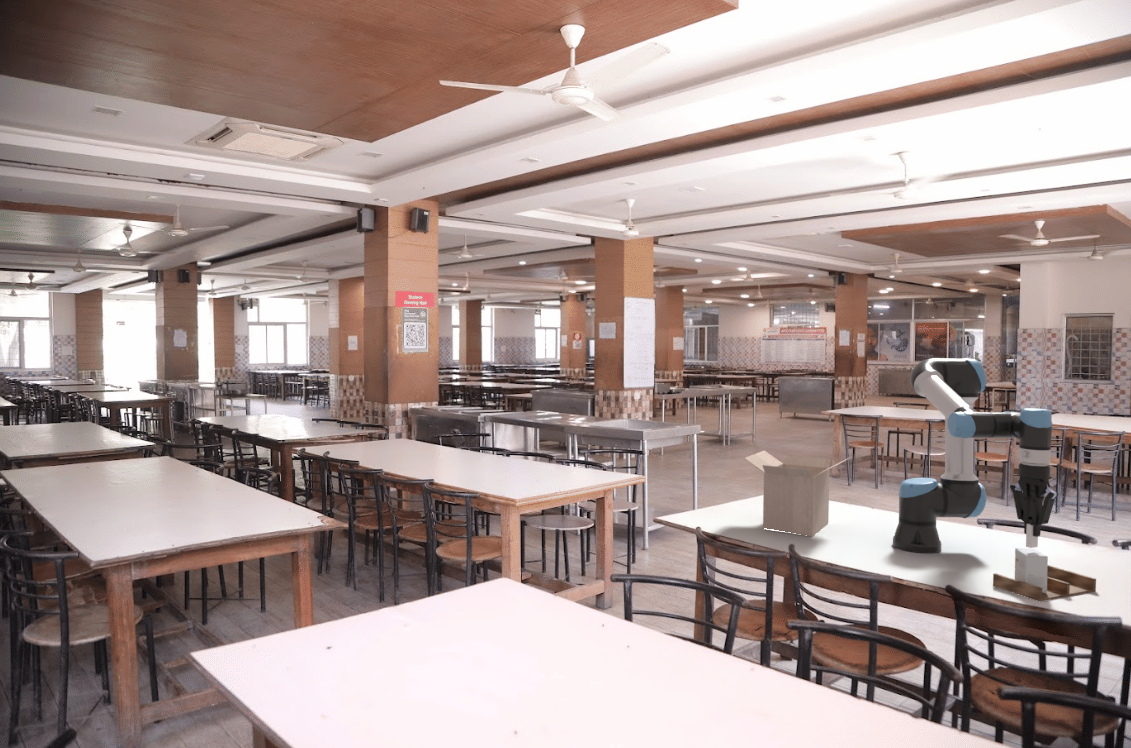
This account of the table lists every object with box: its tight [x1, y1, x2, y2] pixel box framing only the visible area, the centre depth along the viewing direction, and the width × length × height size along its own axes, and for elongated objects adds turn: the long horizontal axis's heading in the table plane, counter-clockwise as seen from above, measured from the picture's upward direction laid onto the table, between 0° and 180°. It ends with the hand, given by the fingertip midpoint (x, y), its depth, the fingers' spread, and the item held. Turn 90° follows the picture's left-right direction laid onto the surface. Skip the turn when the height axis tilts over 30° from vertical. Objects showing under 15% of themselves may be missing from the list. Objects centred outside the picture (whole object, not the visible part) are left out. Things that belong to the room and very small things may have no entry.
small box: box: [1014, 547, 1049, 593], centre depth 213 cm, size 8×6×10 cm
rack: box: [992, 564, 1097, 602], centre depth 216 cm, size 14×23×4 cm, turn 112°
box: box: [743, 450, 851, 538], centre depth 286 cm, size 33×31×26 cm
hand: (1031, 546), depth 213 cm, fingers closed
